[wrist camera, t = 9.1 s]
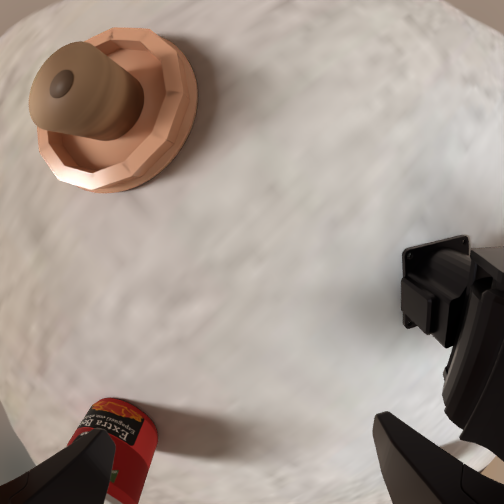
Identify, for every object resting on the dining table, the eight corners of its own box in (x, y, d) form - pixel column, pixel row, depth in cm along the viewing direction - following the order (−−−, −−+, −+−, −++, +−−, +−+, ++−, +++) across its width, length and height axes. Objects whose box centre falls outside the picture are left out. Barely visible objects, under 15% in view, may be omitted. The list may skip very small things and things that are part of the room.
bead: (140, 63, 15) (99, 26, 9) (149, 127, 16) (104, 106, 10) (79, 89, 15) (28, 68, 10) (86, 150, 17) (29, 145, 11)
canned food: (148, 400, 22) (107, 494, 12) (168, 450, 24) (145, 532, 14) (81, 390, 23) (30, 464, 12) (107, 440, 25) (74, 509, 14)
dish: (184, 17, 15) (176, -1, 12) (213, 166, 18) (206, 164, 15) (50, 75, 16) (32, 68, 13) (65, 211, 18) (44, 216, 16)
